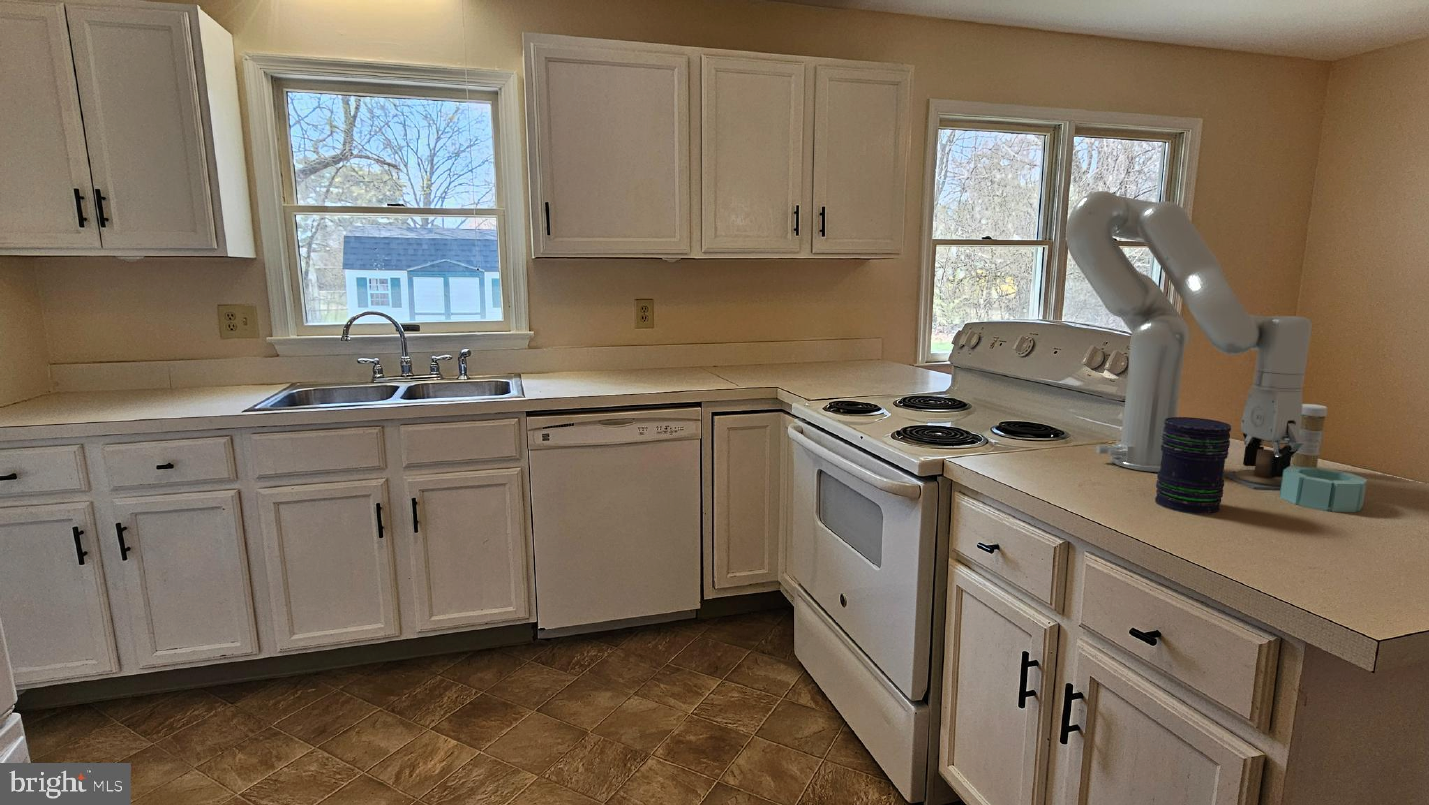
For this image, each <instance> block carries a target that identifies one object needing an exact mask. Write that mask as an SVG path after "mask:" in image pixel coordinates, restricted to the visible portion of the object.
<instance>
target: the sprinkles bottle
mask: <svg viewBox="0 0 1429 805" xmlns="http://www.w3.org/2000/svg"><path fill="white" fill-rule="evenodd" d="M1327 414H1328V407H1327V406H1325V405H1321V404H1320V405H1319V404H1313V403H1302V419H1301V428H1300V435H1301V437H1302V439H1303V441H1304V444H1303V445H1302V446H1301V447H1300V448H1299V449H1298V451H1297V452H1296V453H1294V457H1292V458H1291V463H1290V467H1291V466H1303V467H1315V468H1317V467H1318V461H1319V455H1320V452H1321V447H1322V441H1323V440H1322V439H1323V435H1324V426H1325V421H1326V420H1325V419H1326V416H1327Z"/></svg>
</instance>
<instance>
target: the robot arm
mask: <svg viewBox="0 0 1429 805" xmlns="http://www.w3.org/2000/svg"><path fill="white" fill-rule="evenodd" d="M1070 212H1071V213H1070V215H1069V217H1068V219H1067V222H1066V226H1065V242H1066V246H1067V248H1068V252H1069V254H1070V255H1071V258H1072V259H1073V261H1074V263H1075V265H1076V266H1077V267H1078V269H1079V270H1080V272H1081V273H1082V275H1083V276H1084V277H1085V279H1086V280H1087V282H1088V284H1089V285H1090V287H1091V288H1092V289H1093V291H1095V294H1096V295H1097V297H1098V298H1099V299H1100V300H1101V302H1102V303H1103V305H1104V307H1105V309H1106V310H1107V311H1108V312H1109V314H1111V315H1113V316H1115V317H1118V318H1120V319H1121V320H1122V321H1123V323H1124V324H1125V325H1126V327H1127V329H1128V330H1129V331H1130V332H1131V336H1130V339H1129V347H1128V350H1129V351H1128V369H1127V370H1128V372H1127V380H1126V382H1127V383H1126V392H1125V393H1126V395H1125V402H1124V411H1123V419H1122V420H1123V421H1122V429H1121V438H1120V439H1119V440H1115V443H1113V444H1111V445H1107V444H1096V447H1095V451H1096V453H1097V454H1099V455H1107V456H1108V457H1109V456H1110V461H1111V462H1112V463H1113V464H1115V465H1116V466H1120V467H1123V468H1126V469H1130V470H1136V471H1142V472H1152V473H1153V472H1154V473H1158V471H1159V470H1160V468H1161V459H1162V450H1161V445H1162V434H1163V433H1164V432H1163V430H1164V427H1165V425H1164V421H1165V419H1166V418H1171V417H1178V409H1179V401H1180V391H1181V384H1182V374H1183V364H1184V357H1185V356H1184V354H1185V350H1186V347H1187V345H1188V344H1189V341H1190V335H1191V334H1190V328H1189V325H1188V324H1187V322H1186V321H1185V320H1184V318H1183V317H1182V314H1180V313H1179V311H1178V310H1177V309H1176V307H1175V306H1174V305H1173V303H1172V302H1171V301H1170V300H1169V298H1168V297H1167V296H1166V294H1165V293H1164V292H1163V290H1162V288H1160V286H1159V285H1158V284H1157V282H1156V281H1155V280H1153V278H1151V277H1150V276H1149V275H1146V274H1144V273H1141V272H1140V271H1139V270H1138V269H1137V268H1136V267H1135V266H1134V265H1133V263H1132V262H1131V261H1130V259H1129V258H1128V256H1127V255H1126V253H1125V252H1124V251H1123V249H1122V248H1121V247H1120V246H1119V244H1118V243H1117V242H1116V240H1115V239H1114V238H1120V239H1125V240H1130V241H1134V242H1140V243H1144V244H1145V246H1146V247H1147V249H1148V250H1149V252H1150V253H1151V254H1152V256H1153V257H1154V259H1155V260H1156V261H1157V263H1158V264H1159V266H1160V268H1161V269H1162V270H1163V273H1164V274H1165V276H1166V277H1167V279H1168V280H1169V281H1170V283H1171V285H1172V287H1174V290H1175V292H1176V293H1177V294H1178V295H1179V297H1180V298H1181V300H1183V303H1184V304H1185V305H1186V307H1187V308H1188V310H1189V312H1190V314H1191V315H1192V316H1193V318H1194V320H1195V321H1196V323H1197V325H1198V326H1199V327H1200V329H1201V330H1202V332H1203V333H1204V335H1205V336H1206V338H1207V340H1209V342H1210V344H1211V345H1212V347H1214V348H1215V350H1217V351H1219V352H1221V353H1222V354H1226V355H1240V354H1244V353H1246V352H1248V351H1256V352H1257V354H1256V359H1255V360H1256V361H1255V367H1254V375H1253V382H1252V384H1251V386H1250V389H1249V390H1248V394H1247V397H1246V399H1245V404H1244V408H1243V413H1242V419H1241V422H1240V430H1241V432H1242V436H1243V438H1244V441H1243V444H1244V448H1245V449H1244V454H1243V463H1242V464H1243V466H1245V467H1255V464H1256V457H1257V450H1258V449H1265V447H1264V446H1262V445H1263V444H1264V442H1268V443H1272V448H1273V451H1274V454H1275V456H1272V457H1271V463H1270V470H1269V476H1271V477H1282V476H1283V470H1284V469H1286V468H1287V467H1291V466H1290V463H1291V460H1292V457H1294V453H1296V452H1297V451H1298V449H1299V448H1300V447H1301V446H1302V445H1303V444H1304V441H1303V439H1302V437H1301V435H1300V428H1301V419H1302V404H1303V392H1302V391H1303V387H1304V381H1305V374H1306V367H1307V362H1308V361H1307V360H1308V354H1309V349H1310V341H1311V336H1312V329H1313V323H1312V321H1311V320H1310V319H1309V318H1307V317H1304V316H1297V315H1295V316H1294V315H1293V316H1292V315H1271V316H1270V315H1269V316H1265V315H1256V314H1251V313H1250V314H1249V312H1247V311H1246V309H1245V308H1244V306H1243V305H1242V303H1241V300H1239V299H1238V297H1237V295H1236V294H1235V292H1234V291H1233V289H1232V287H1231V286H1230V284H1229V283H1228V281H1227V279H1226V277H1225V274H1224V271H1223V269H1222V266H1221V265H1220V262H1219V260H1218V259H1217V257H1216V255H1215V254H1214V253H1213V251H1212V250H1211V248H1210V247H1209V246H1208V245H1207V243H1206V240H1204V239H1203V237H1202V235H1201V233H1199V231H1198V230H1197V228H1196V227H1195V225H1194V223H1193V222H1192V221H1191V219H1190V218H1189V214H1188V212H1186V210H1185V209H1184V208H1183V207H1182V206H1180V205H1179V204H1178V203H1176V202H1172V201H1168V200H1167V201H1166V200H1164V201H1158V202H1155V201H1150V200H1149V201H1148V200H1141V199H1138V198H1137V199H1136V198H1130V197H1126V196H1122V195H1121V196H1120V195H1117V194H1115V193H1113V192H1110V191H1103V190H1101V191H1100V190H1099V191H1098V190H1097V191H1093V192H1090V193H1087V194H1086V195H1085V196H1083V197H1082V198H1081V199H1080V200H1079V201H1078V202H1077V203H1076V204H1075V205H1074V207H1073V209H1072V211H1070ZM1281 445H1284V446H1283V447H1281Z"/></svg>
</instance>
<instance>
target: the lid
mask: <svg viewBox="0 0 1429 805" xmlns="http://www.w3.org/2000/svg"><path fill="white" fill-rule="evenodd" d="M1272 456H1275V454H1274V449H1273V450H1272V449H1265V448H1264V449H1258V450H1257V457H1256V464H1255V466H1254V469H1238V470H1236V472H1235V473H1236V475H1235V477H1236V478H1238V479H1240V480H1242V481H1245V482H1249V483H1253V484H1258V485H1265V486H1274V487H1281V482H1282V477H1271V476H1269V470H1270V463H1271V457H1272Z"/></svg>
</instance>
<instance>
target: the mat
mask: <svg viewBox="0 0 1429 805" xmlns="http://www.w3.org/2000/svg"><path fill="white" fill-rule="evenodd" d="M1235 475H1236V472H1231V471H1230V472H1228V471H1224V472H1223V477H1226V478H1229V479H1231V480H1232V481H1235V482H1237V483H1239V484H1242V485H1244V486H1245V487H1248V488H1250V489H1253V490H1277V491H1278V490H1280V489H1281V487H1274V486H1265V485H1258V484H1253V483H1249V482H1245V481H1242V480H1240V479H1238V478H1236V477H1235Z"/></svg>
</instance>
